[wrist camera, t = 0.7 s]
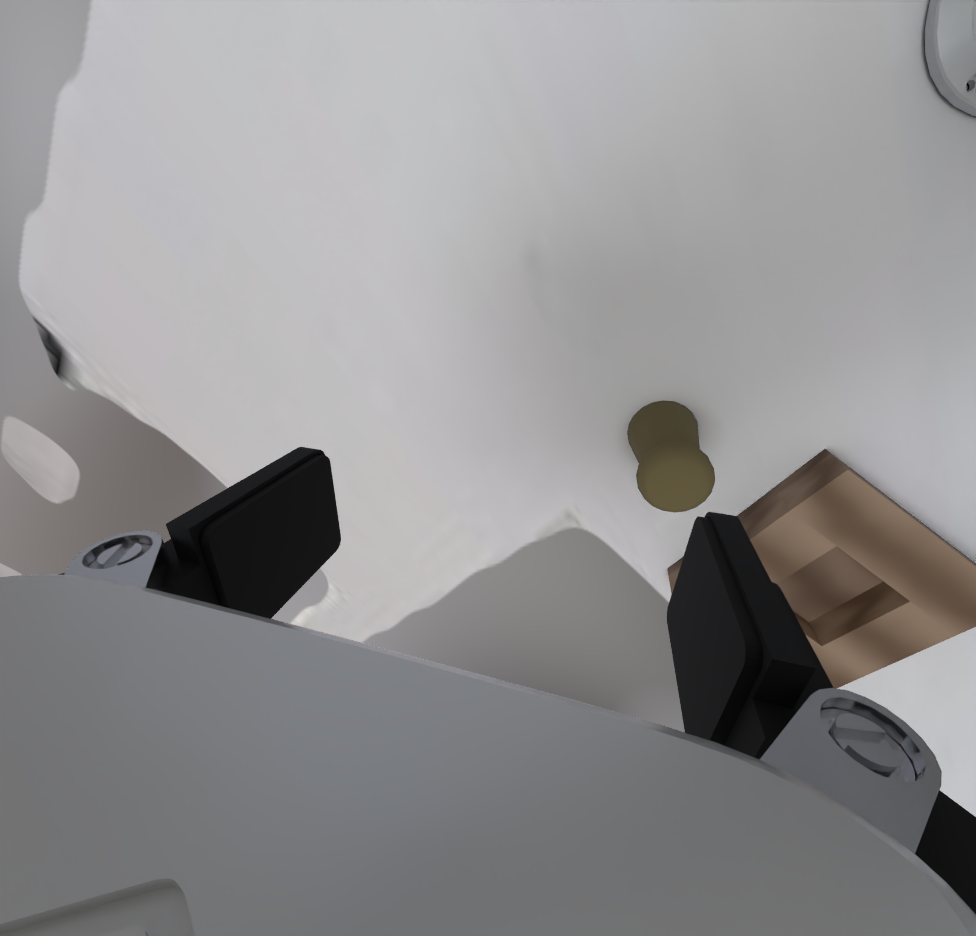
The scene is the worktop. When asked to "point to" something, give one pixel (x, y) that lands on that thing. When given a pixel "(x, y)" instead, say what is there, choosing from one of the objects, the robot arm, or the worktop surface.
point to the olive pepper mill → (670, 457)
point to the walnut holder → (857, 569)
